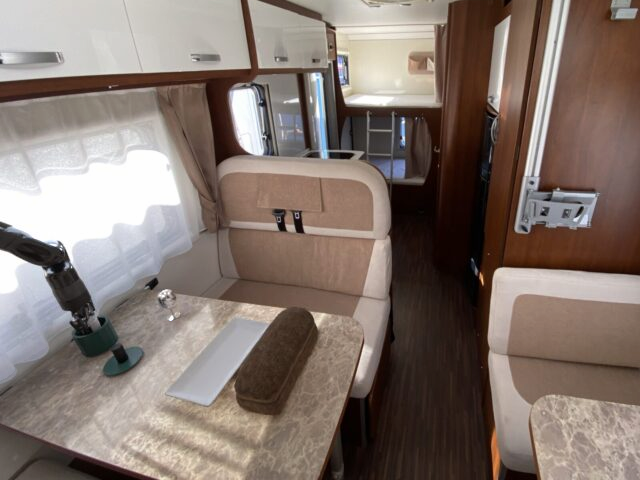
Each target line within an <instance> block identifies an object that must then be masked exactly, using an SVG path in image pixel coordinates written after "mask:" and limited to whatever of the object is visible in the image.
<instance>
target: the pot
mask: <svg viewBox="0 0 640 480" xmlns="http://www.w3.org/2000/svg"><path fill="white" fill-rule="evenodd" d="M96 317H97V319H98V321H99V323H100V325H101V326H102V327H100V328H99V329H98V330H96V331H94V332H92V333H90V334H87V335H85V336H84V334H83V332H82V331H80V332H77V331H76V330H75V329H74V328H73V330H72V332H71V334H70V335H71V337H72V339H73V341H74V342H75V345H77V348H78V349H79V351H80V352H81V354H82V355H83V356H84V357H85V358H94V357H97V356H100V355H102V354H104V353H107V352H108V351H109V350H111V347H112V346H113V345H115V344H117V343H118V340H119V336H118V333H117V332H116V330H115V328H114V326H113V324H112V322H111V320H110V318H109V316H107V315H99V316H96Z"/></svg>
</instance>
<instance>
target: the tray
mask: <svg viewBox="0 0 640 480" xmlns="http://www.w3.org/2000/svg"><path fill="white" fill-rule="evenodd" d="M270 324H271V322H270V323H269V322H265V321H260V320H256V319H250V318H245V317H240V316H234V317H233V318H231V319H230V321H228V322H227V323H226V325H224V326H223V328H222V329H220V331H219V332H218V333H217V334H216V335H215V336H214V338H212V340H210V342H208V343H207V344H206V346H205V347H204V348H203V349H202V351H201V352H200V353H199V354H198V355H197V356H196V357H195V358H194V359H193V360H192V362H191V363H190V364H189V365H188V366H187V367H186V368H185V369H184V370H183V371H182V372H181V374H180V375H178V377H177V378H176V379H175V380H174V381H173V383H172V384H171V385H169V387H168V388H167V390H165V391H164V396H166V397H170V398H174V399H178V400H182V401H185V402H188V403H191V404H195V405H198V406H201V407H205V408H209V407H211V406H213V404H214V402H215V401H216V400H217V399H218V397H219V396H220V395H221V394H222V392H223V391H224V389H225V388H226V386H227V385H228V384H229V382H230V381H231V379H232V378H233V377H234V375H235V374H236V373H237V371H238V370H240V368H241V367H242V365H243V363H244V362H245V360H246V358H247V357H248V355H249V354H250V352H251V351H252V349H253V348H254V346H255V345H256V344H257V342H258V341H259V340H260V338H261V337H262V335H263V333H264V332H265V330H266V329H267V328H268V326H269V325H270Z"/></svg>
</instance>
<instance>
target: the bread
mask: <svg viewBox="0 0 640 480" xmlns="http://www.w3.org/2000/svg"><path fill="white" fill-rule="evenodd" d="M318 335H319V330H318V325H317V323H316V321H315V317H314V316H313V314H312V313H311V311H309V310H308V309H307V308H305V307H299V306H289V307H287V308H285V309H283V310H281V311H280V312H279V313H278V314H277V315H276V316H275V317H274V319H273V320H272V321H271V322H270V325H269V326H268V328H267V329H266V330H265V332H264V333H263V335H262V337H261V338H260V340H259V341H258V342H257V344H256V345H255V346H254V348H253V349H252V351H251V352H250V354H249V355H248V356H247V358H246V359H245V361H244V362H243V363H242V365H241V366H240V367H239V369H238V370H239V371H238V373H237V375H236V377H235V381H234V385H233V387H234V392H235V400H236V402H237V405H238V406H239V407H240V408H241V409H243V410H245V411H247V412H250V413H255V414H260V415H265V416H277V415H280V414H281V413H282V411H283V408H284V406H285V405H286V403H287V401H288V399H289V397H290V395H291V393H292V391H293V390H294V388H295V385H296V383H297V380H298V379H299V377H300V375H301V373H302V371H303V368H304V366H305V364H306V363H307V361H308V359H309V357H310V354H311V352H312V350H313V349H314V346H315V344H316V342H317V338H318Z"/></svg>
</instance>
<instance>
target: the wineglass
mask: <svg viewBox="0 0 640 480" xmlns="http://www.w3.org/2000/svg"><path fill="white" fill-rule="evenodd" d="M176 302H177V296H176V294H175V293H174V292H173V290H172V289H170V288H168V289H164V290H162V291H160V292H159V293H158V294H157V303H158V306H160V307H161V308H162V309H169V310H170V313H171V314H169V315H168V316H167V320H168V321H174V320H177V319H178V318H179V317H180V316H181V312H179V311H175V312H174V311H173V306H174V305H175V303H176Z"/></svg>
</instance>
